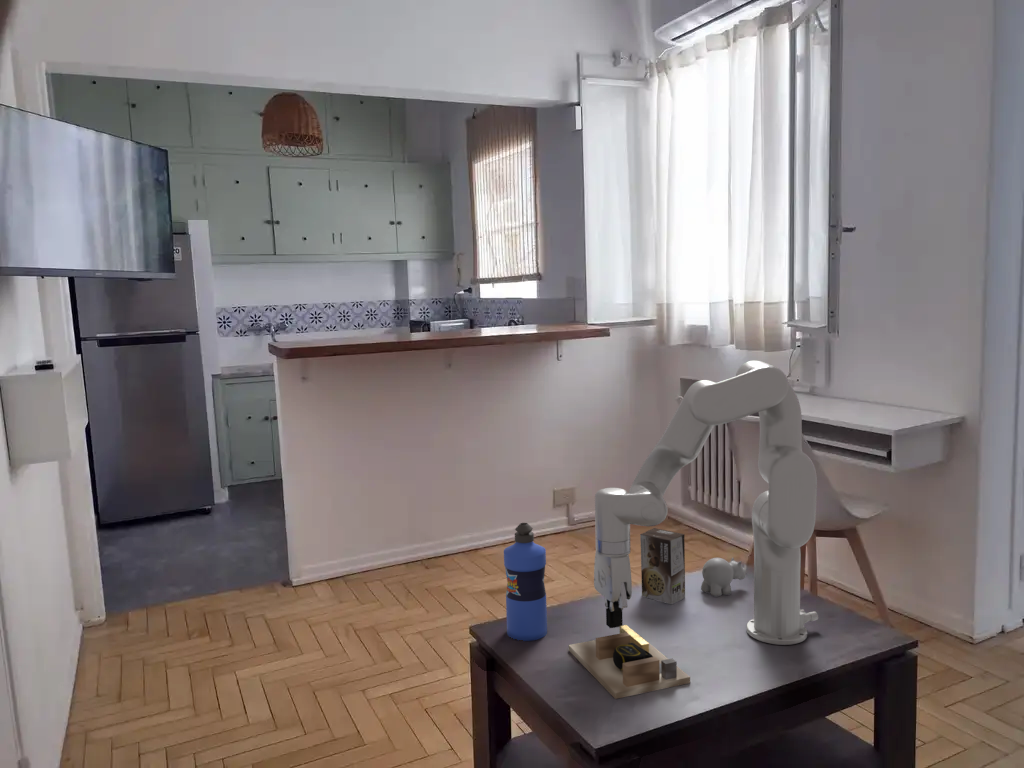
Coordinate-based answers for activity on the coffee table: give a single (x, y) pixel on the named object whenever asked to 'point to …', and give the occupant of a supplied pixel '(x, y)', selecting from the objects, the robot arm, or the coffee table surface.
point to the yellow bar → (635, 638)
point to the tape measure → (628, 654)
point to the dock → (615, 676)
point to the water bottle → (525, 586)
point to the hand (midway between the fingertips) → (614, 625)
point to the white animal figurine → (721, 575)
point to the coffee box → (663, 565)
